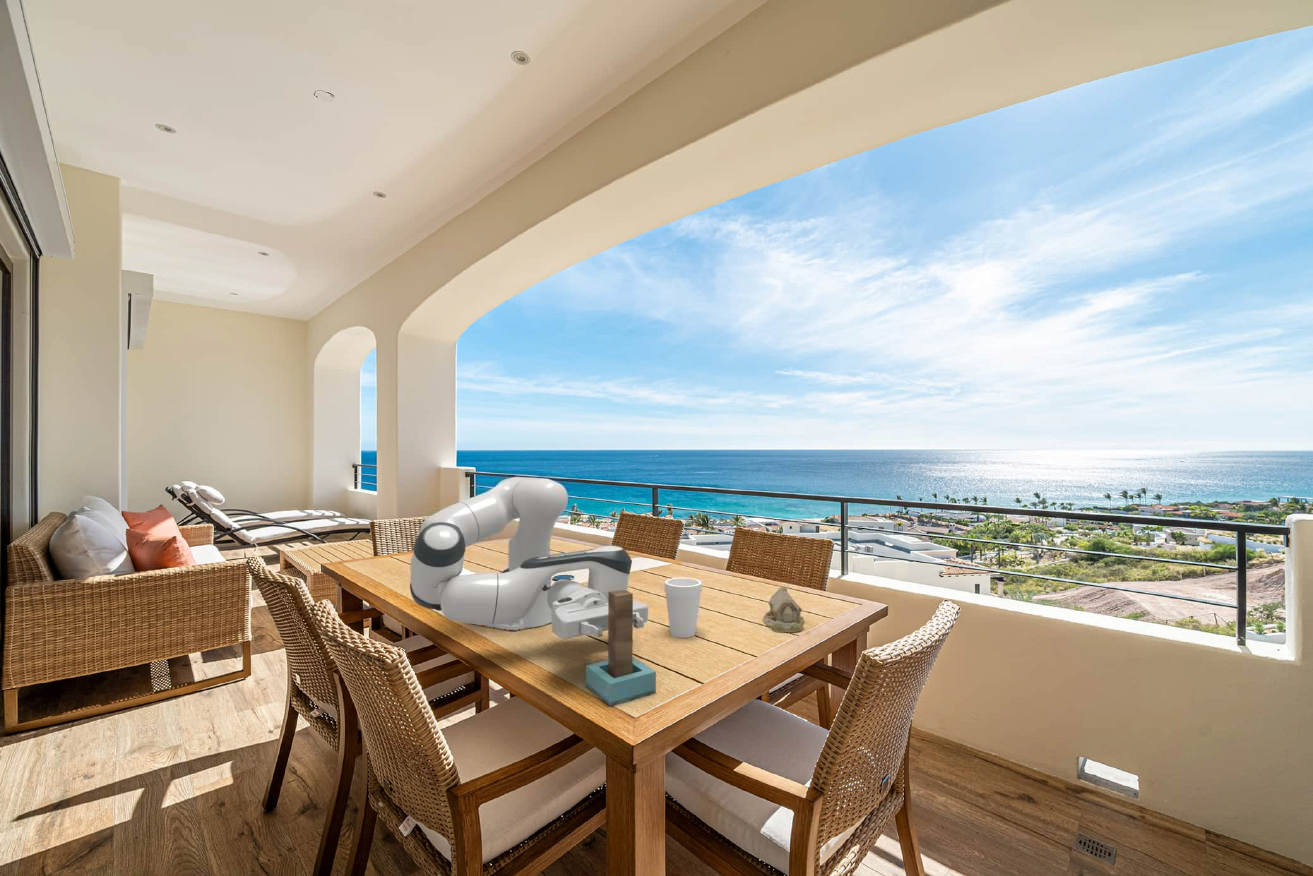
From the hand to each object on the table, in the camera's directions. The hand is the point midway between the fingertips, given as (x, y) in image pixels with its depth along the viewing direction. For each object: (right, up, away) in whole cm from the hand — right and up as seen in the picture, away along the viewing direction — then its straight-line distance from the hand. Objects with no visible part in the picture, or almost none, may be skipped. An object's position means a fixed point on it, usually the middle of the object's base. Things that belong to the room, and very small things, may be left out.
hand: (620, 628), depth 105 cm
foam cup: (+14, -13, +31) cm, 36 cm away
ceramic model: (+42, -13, +38) cm, 58 cm away
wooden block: (0, -11, -1) cm, 11 cm away
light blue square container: (0, -12, -1) cm, 12 cm away
